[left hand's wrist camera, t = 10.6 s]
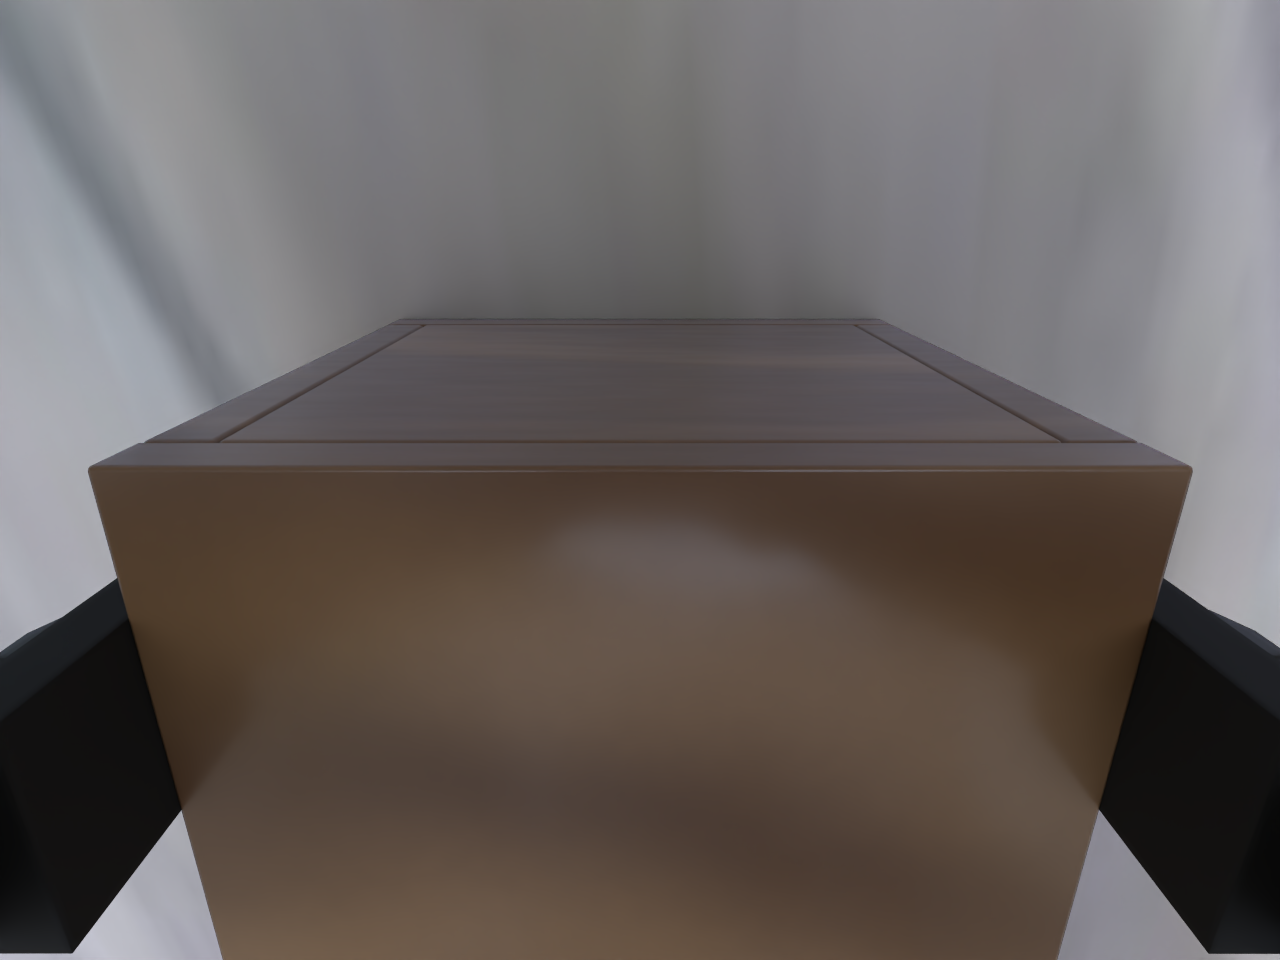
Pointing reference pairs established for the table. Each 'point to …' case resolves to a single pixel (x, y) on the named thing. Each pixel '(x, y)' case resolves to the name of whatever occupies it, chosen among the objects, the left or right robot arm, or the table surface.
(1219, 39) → the table surface
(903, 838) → the cabinet
